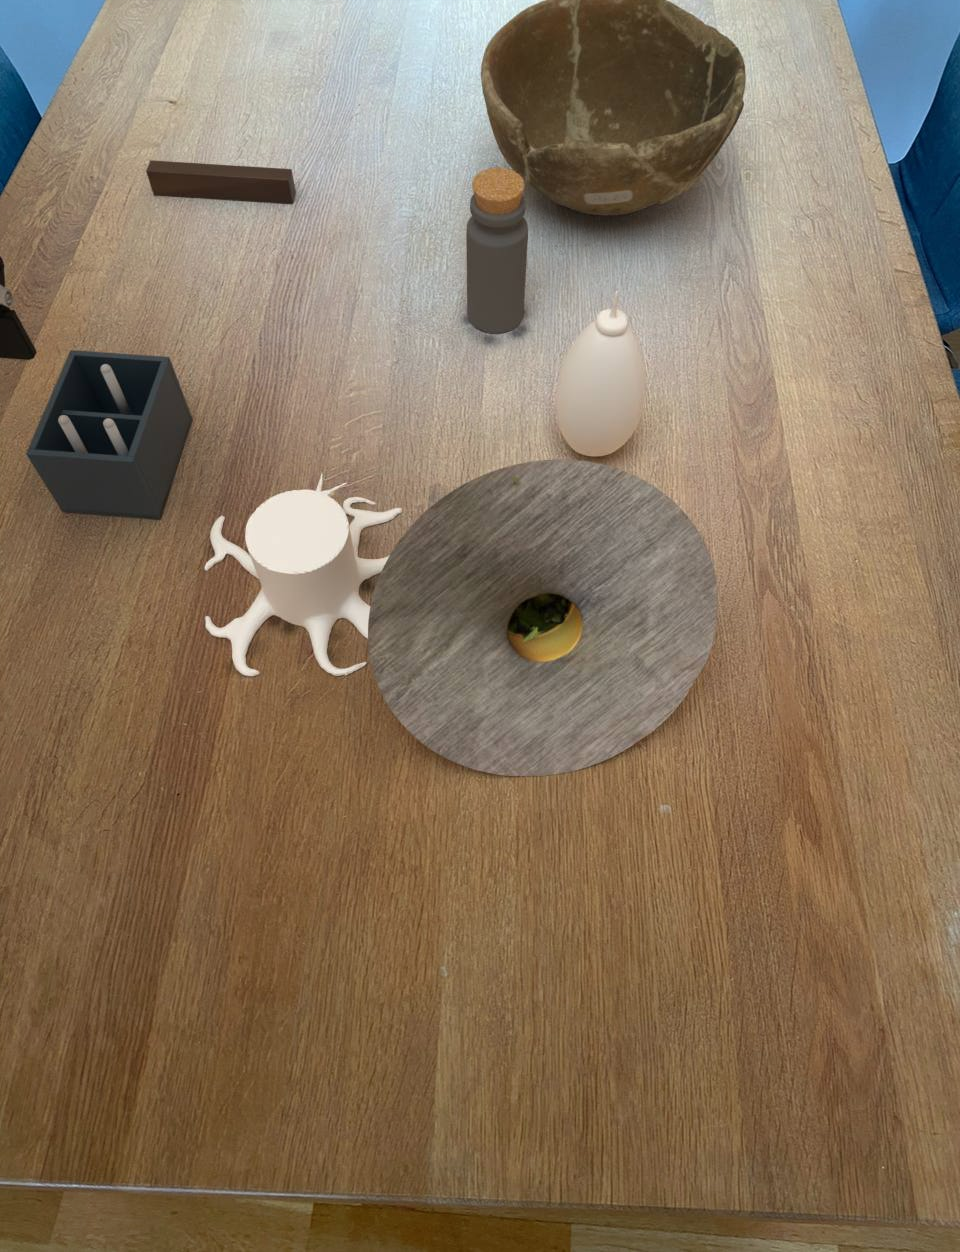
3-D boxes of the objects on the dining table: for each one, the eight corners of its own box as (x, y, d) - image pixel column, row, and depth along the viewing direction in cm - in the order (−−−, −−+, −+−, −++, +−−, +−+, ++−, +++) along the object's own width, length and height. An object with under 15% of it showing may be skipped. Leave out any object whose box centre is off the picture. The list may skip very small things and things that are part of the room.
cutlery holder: (160, 520, 84) (126, 450, 76) (62, 512, 85) (18, 442, 76) (192, 418, 90) (164, 344, 82) (101, 412, 90) (63, 337, 82)
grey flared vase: (689, 678, 84) (657, 401, 76) (746, 771, 68) (714, 429, 60) (416, 726, 85) (356, 456, 77) (406, 829, 69) (328, 500, 61)
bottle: (527, 298, 99) (535, 166, 86) (518, 337, 96) (525, 207, 83) (472, 291, 99) (472, 159, 86) (462, 330, 96) (460, 200, 83)
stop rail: (292, 204, 106) (288, 180, 103) (153, 195, 107) (145, 171, 104) (296, 192, 107) (291, 168, 104) (158, 184, 108) (150, 160, 105)
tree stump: (446, 513, 85) (443, 454, 78) (392, 705, 75) (384, 657, 68) (234, 477, 87) (213, 416, 80) (156, 659, 77) (124, 608, 70)
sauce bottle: (639, 475, 87) (675, 324, 71) (555, 479, 87) (572, 329, 71) (626, 411, 91) (658, 255, 75) (546, 415, 91) (561, 259, 75)
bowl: (651, 308, 98) (678, 177, 85) (435, 218, 105) (429, 85, 92) (757, 167, 110) (795, 33, 97) (556, 95, 117) (566, -39, 104)
